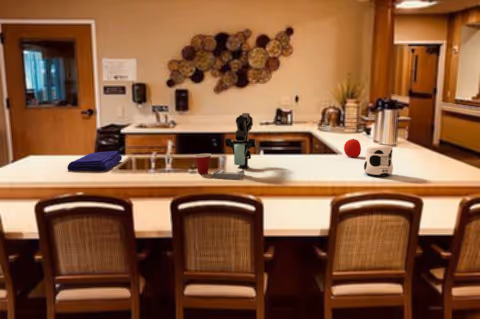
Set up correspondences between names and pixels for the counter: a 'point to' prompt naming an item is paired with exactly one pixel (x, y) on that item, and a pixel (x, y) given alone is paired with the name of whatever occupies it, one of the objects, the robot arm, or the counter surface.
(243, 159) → the pale green upright block
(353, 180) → the counter surface
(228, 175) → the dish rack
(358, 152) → the tomato
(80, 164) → the towel
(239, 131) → the robot arm
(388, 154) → the milk container
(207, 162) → the plastic cup
